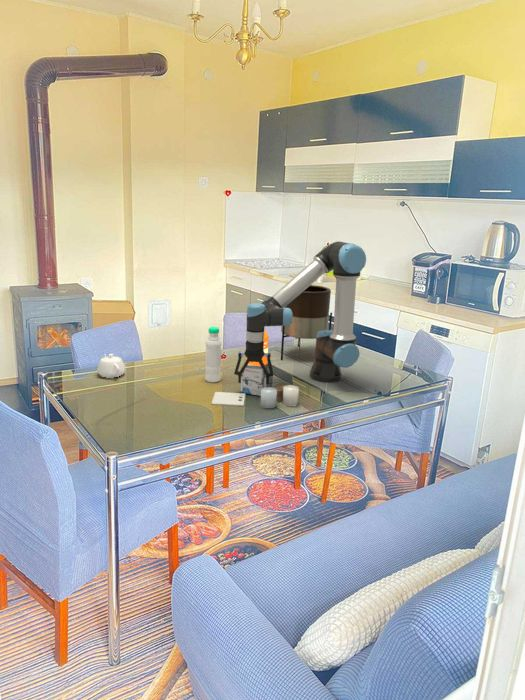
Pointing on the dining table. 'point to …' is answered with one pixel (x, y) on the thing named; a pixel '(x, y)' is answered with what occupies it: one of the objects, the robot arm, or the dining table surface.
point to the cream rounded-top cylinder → (290, 395)
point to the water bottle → (213, 356)
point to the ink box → (253, 379)
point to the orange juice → (264, 351)
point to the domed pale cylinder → (268, 397)
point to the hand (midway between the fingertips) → (253, 390)
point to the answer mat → (228, 399)
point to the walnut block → (279, 393)
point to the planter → (308, 314)
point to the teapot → (111, 366)
